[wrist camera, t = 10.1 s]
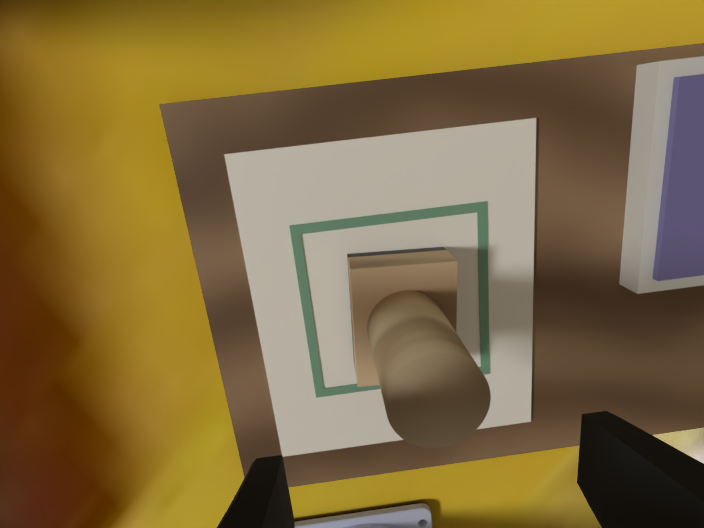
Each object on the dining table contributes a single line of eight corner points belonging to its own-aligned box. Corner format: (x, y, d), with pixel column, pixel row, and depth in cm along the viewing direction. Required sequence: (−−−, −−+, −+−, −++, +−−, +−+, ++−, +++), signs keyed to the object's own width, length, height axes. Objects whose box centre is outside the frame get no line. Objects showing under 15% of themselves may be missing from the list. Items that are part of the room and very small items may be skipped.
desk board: (759, 404, 24) (777, 416, 23) (251, 477, 23) (248, 493, 22) (835, 29, 18) (863, 25, 18) (167, 105, 17) (159, 104, 17)
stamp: (442, 353, 20) (503, 468, 14) (353, 361, 20) (371, 481, 13) (443, 246, 19) (512, 317, 12) (347, 253, 19) (364, 329, 12)
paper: (529, 419, 22) (531, 422, 22) (282, 453, 22) (282, 457, 21) (533, 118, 18) (537, 118, 17) (225, 154, 17) (223, 154, 17)
